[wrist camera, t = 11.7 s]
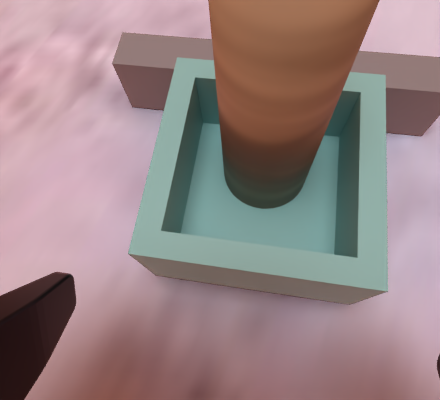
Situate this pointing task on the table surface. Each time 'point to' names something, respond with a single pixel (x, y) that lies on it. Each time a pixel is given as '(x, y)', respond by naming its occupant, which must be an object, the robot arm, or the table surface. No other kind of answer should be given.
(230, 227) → the socket block
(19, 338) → the robot arm
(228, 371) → the table surface
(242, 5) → the dowel
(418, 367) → the table surface
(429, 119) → the backstop wall
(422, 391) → the table surface
